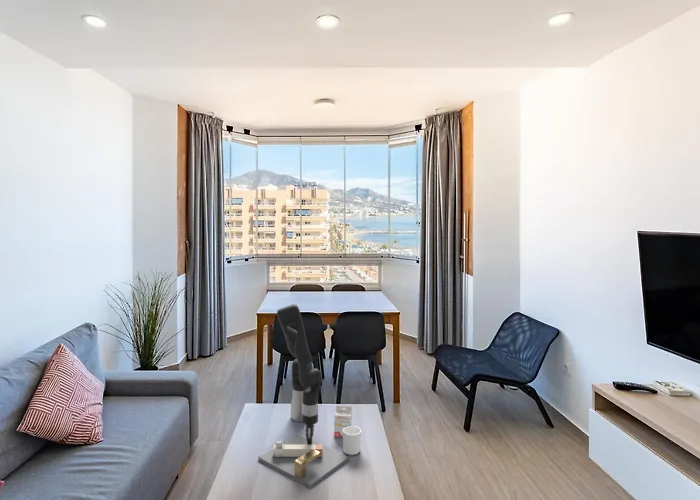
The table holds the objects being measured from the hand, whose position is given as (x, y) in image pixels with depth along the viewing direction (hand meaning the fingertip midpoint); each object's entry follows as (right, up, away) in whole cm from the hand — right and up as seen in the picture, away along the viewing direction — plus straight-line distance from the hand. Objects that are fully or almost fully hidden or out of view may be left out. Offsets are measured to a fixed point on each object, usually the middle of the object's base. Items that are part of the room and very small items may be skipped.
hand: (309, 447), depth 193 cm
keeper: (0, -4, -16) cm, 17 cm away
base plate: (-2, -3, -6) cm, 7 cm away
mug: (+20, -3, +4) cm, 21 cm away
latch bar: (-5, -1, -4) cm, 7 cm away
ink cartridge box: (+15, -3, +18) cm, 23 cm away
